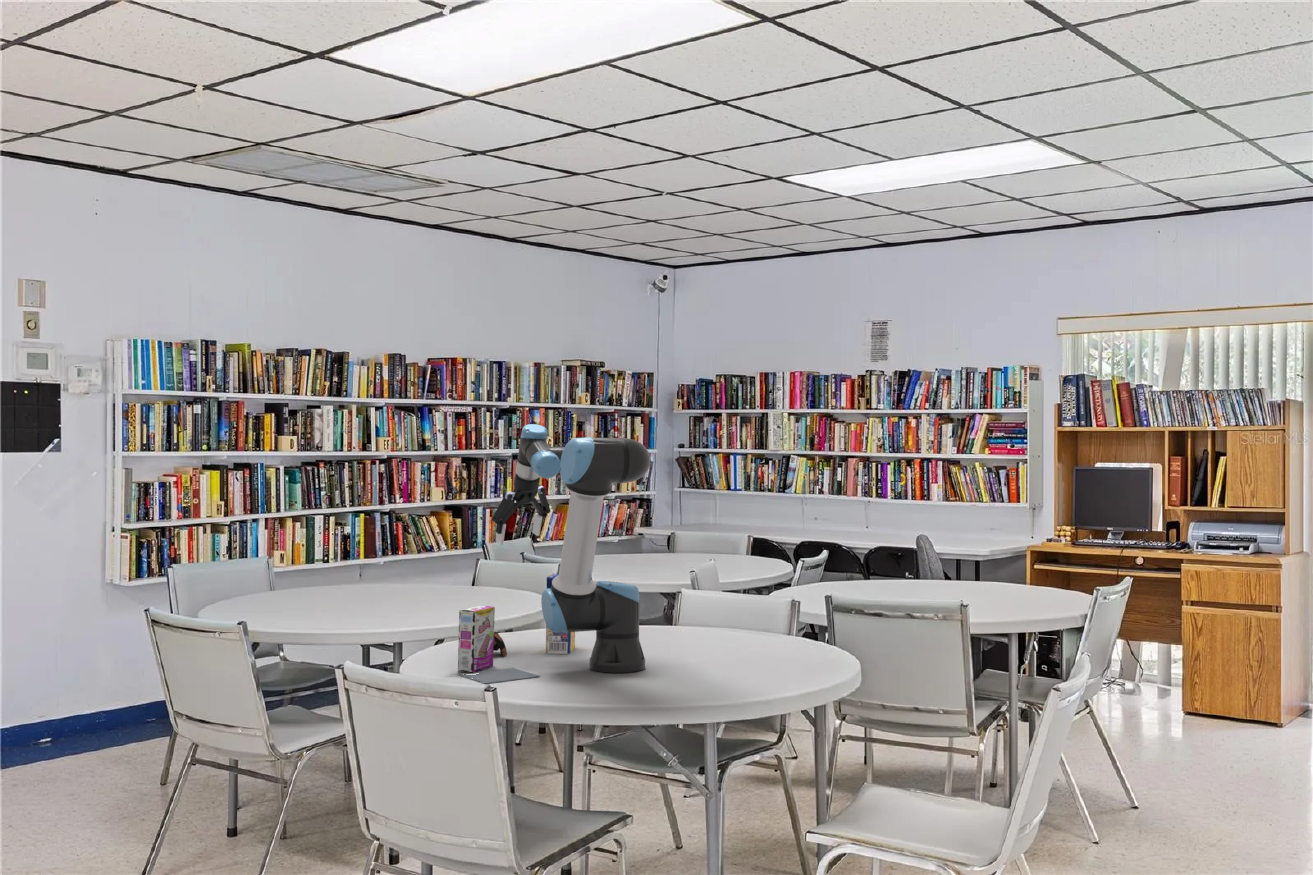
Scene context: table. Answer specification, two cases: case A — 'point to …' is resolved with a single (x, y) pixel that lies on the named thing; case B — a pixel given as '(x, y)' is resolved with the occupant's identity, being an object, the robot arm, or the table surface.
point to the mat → (501, 675)
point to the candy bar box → (476, 638)
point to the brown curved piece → (499, 644)
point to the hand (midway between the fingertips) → (517, 538)
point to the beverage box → (558, 634)
